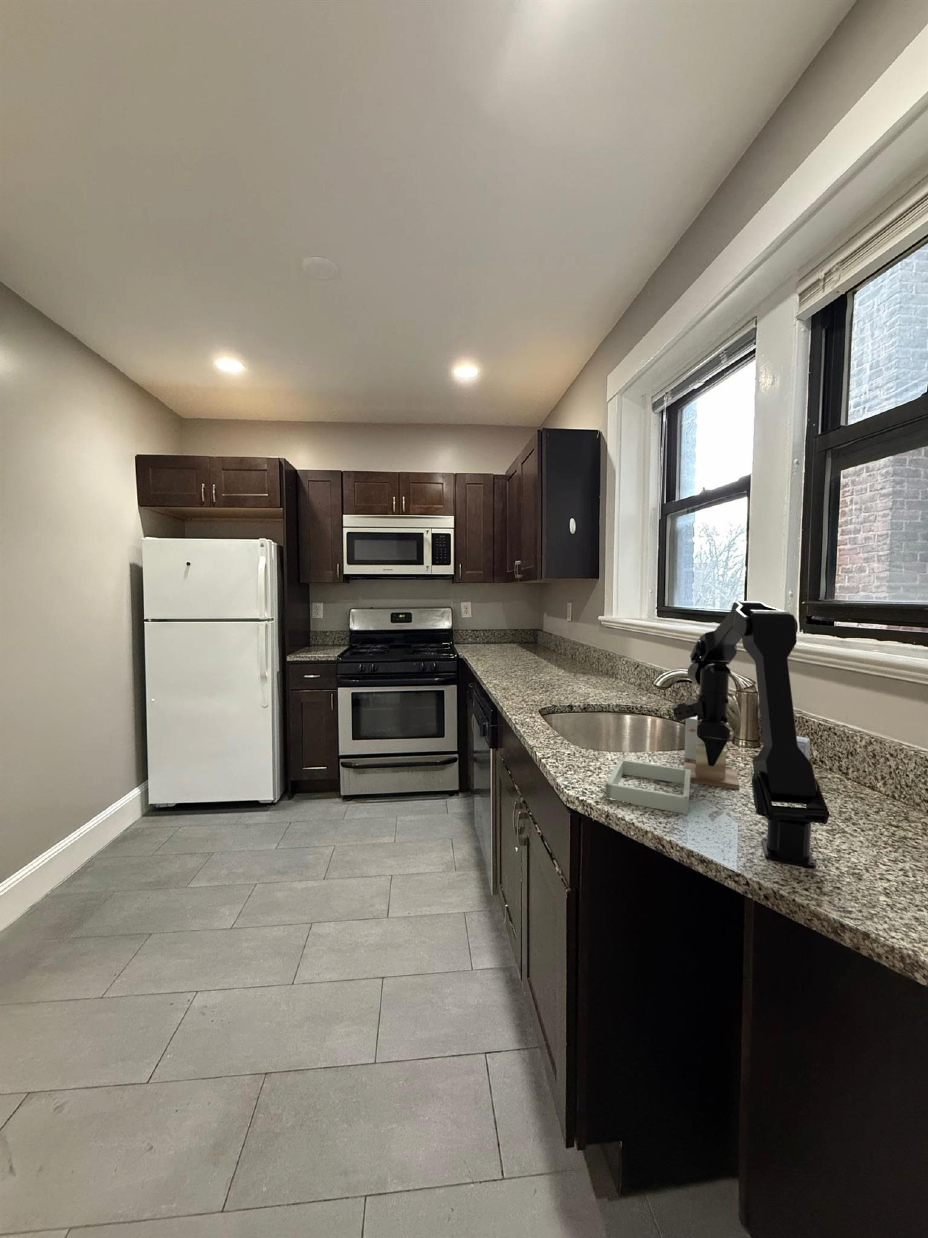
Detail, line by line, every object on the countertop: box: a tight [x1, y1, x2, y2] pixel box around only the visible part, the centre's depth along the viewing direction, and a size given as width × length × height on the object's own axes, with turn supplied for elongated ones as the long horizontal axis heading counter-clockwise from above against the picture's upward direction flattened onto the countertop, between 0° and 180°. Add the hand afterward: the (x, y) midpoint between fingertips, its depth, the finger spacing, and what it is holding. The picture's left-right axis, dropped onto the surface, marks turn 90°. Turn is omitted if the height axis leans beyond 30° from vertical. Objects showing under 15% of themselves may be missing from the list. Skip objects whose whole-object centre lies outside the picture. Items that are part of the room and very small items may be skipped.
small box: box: [684, 716, 704, 761], centre depth 127 cm, size 8×6×10 cm
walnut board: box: [683, 761, 740, 790], centre depth 114 cm, size 11×11×1 cm
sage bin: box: [605, 758, 691, 815], centre depth 105 cm, size 18×15×3 cm
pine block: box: [695, 742, 728, 778], centre depth 114 cm, size 4×6×6 cm
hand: (710, 760), depth 114 cm, fingers open, 9 cm apart
